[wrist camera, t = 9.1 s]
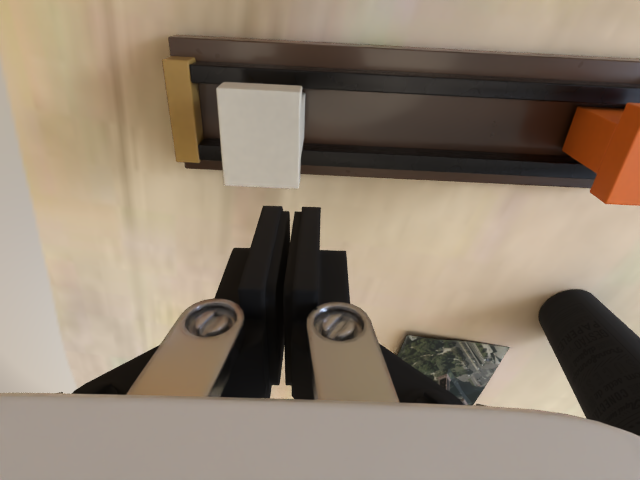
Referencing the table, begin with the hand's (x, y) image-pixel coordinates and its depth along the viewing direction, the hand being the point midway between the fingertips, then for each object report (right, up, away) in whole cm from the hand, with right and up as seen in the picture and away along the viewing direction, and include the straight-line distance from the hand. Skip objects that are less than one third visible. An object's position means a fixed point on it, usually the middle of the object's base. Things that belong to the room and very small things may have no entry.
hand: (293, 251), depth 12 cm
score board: (+7, +9, +15) cm, 18 cm away
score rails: (+7, +8, +14) cm, 17 cm away
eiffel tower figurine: (+12, -15, +29) cm, 34 cm away
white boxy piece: (-2, +8, +13) cm, 16 cm away
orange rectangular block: (+18, +7, +13) cm, 24 cm away
